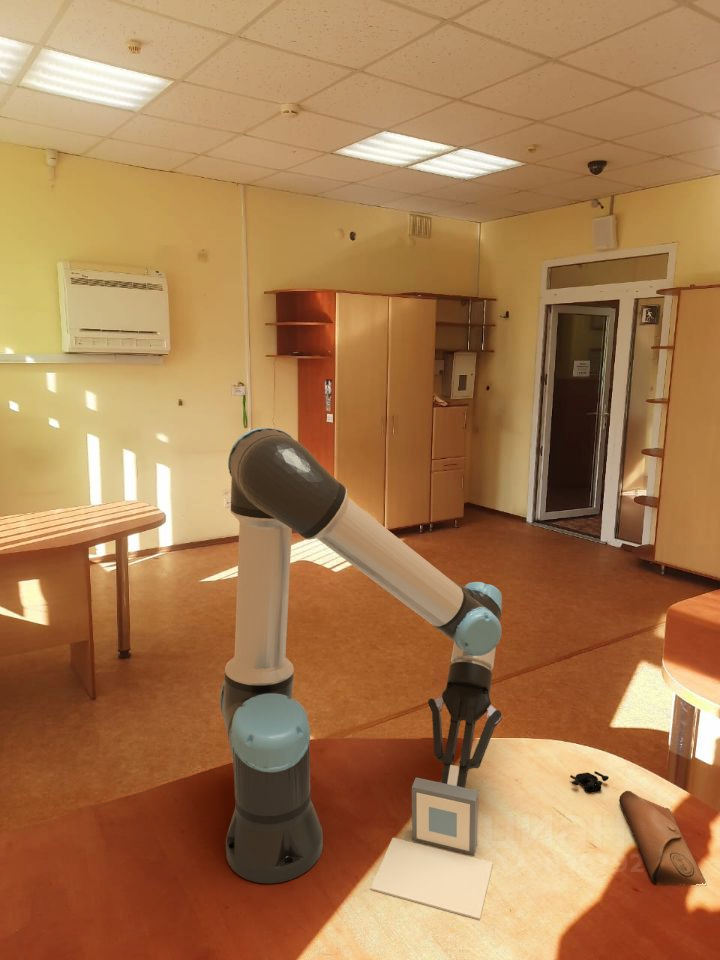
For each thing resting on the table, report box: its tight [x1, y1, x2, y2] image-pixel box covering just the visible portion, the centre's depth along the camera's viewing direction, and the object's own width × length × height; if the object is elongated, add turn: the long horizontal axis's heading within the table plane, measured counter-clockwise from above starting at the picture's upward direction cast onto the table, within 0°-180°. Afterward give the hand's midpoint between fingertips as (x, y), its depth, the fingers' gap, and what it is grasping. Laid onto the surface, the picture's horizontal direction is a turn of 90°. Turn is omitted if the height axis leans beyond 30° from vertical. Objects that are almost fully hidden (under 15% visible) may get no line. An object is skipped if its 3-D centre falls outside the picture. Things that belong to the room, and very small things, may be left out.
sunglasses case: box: [618, 790, 707, 887], centre depth 109 cm, size 18×7×7 cm
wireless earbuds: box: [569, 770, 609, 794], centre depth 123 cm, size 7×2×5 cm
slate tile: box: [411, 777, 479, 857], centre depth 108 cm, size 10×3×10 cm, turn 70°
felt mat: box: [369, 837, 494, 921], centre depth 102 cm, size 16×11×1 cm
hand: (449, 809), depth 110 cm, fingers closed
